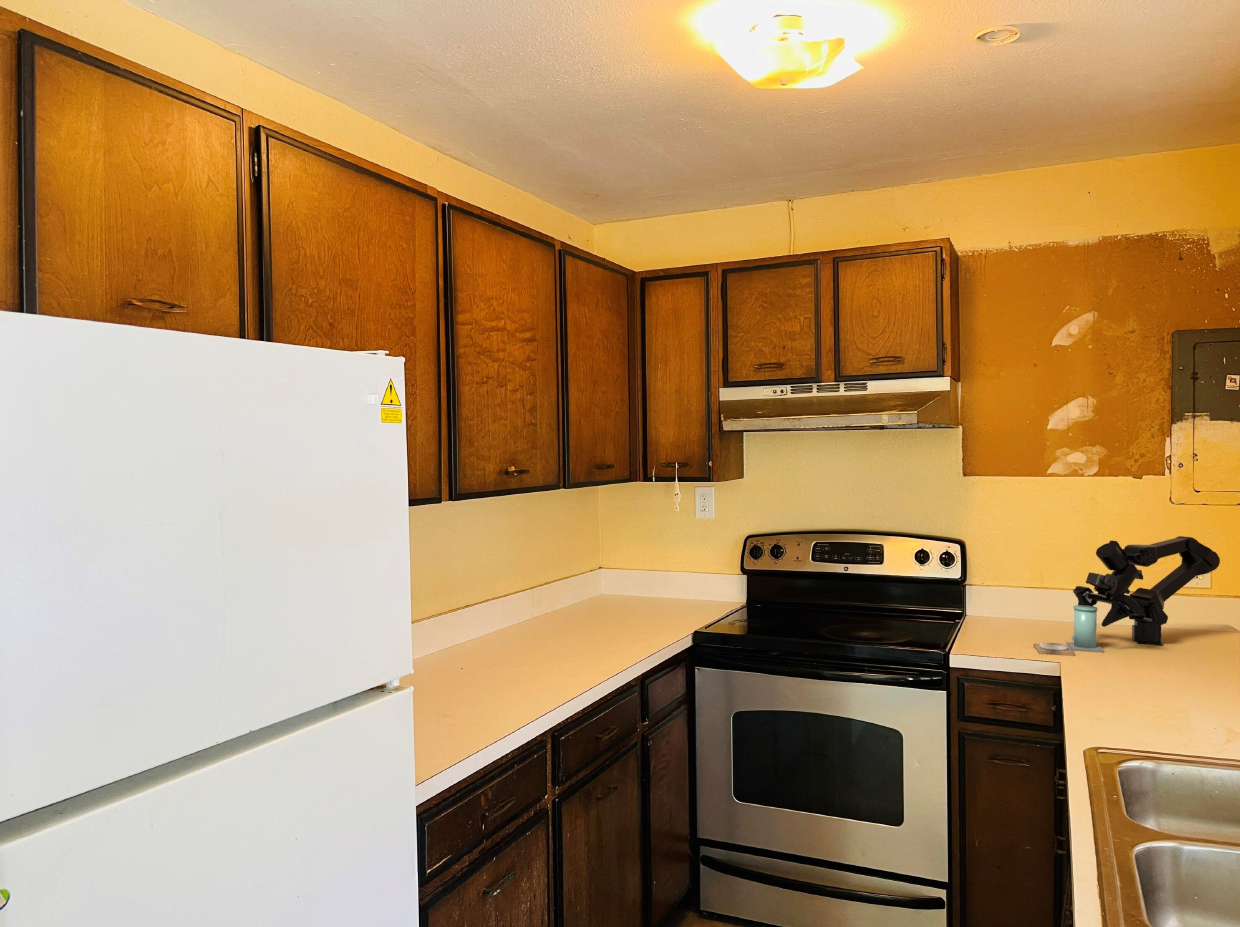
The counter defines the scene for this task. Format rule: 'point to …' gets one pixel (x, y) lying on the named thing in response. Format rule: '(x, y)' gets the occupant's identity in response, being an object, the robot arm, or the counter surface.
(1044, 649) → the brown square coaster
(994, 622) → the counter surface
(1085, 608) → the teal cylindrical jar
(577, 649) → the counter surface
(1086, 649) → the mat
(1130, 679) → the counter surface
